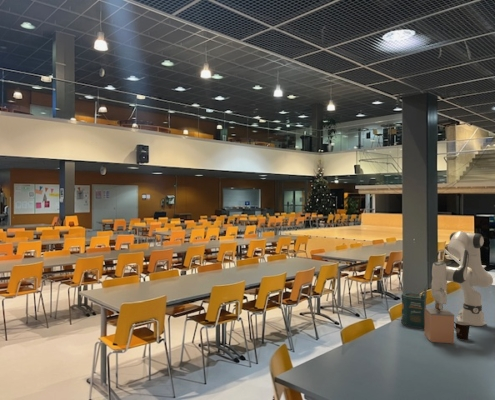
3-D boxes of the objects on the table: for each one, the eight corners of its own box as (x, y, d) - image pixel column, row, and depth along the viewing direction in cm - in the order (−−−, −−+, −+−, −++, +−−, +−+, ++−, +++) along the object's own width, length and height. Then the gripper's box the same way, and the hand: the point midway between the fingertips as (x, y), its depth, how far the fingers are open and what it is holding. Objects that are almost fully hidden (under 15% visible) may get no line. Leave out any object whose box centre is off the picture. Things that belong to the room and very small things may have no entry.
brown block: (424, 334, 259) (424, 307, 260) (446, 336, 257) (446, 309, 257) (430, 341, 245) (430, 313, 246) (453, 343, 243) (454, 314, 243)
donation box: (424, 328, 273) (424, 288, 273) (400, 324, 281) (400, 286, 281) (426, 322, 287) (426, 285, 287) (403, 319, 295) (403, 282, 295)
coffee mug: (471, 341, 248) (471, 325, 248) (457, 339, 249) (457, 324, 250) (465, 335, 259) (465, 320, 259) (451, 334, 261) (451, 319, 261)
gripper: (449, 290, 241) (449, 312, 241) (439, 283, 261) (439, 304, 261) (438, 289, 242) (438, 311, 242) (429, 283, 262) (429, 303, 262)
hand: (438, 307), depth 251 cm, fingers closed on plunger, 4 cm apart
